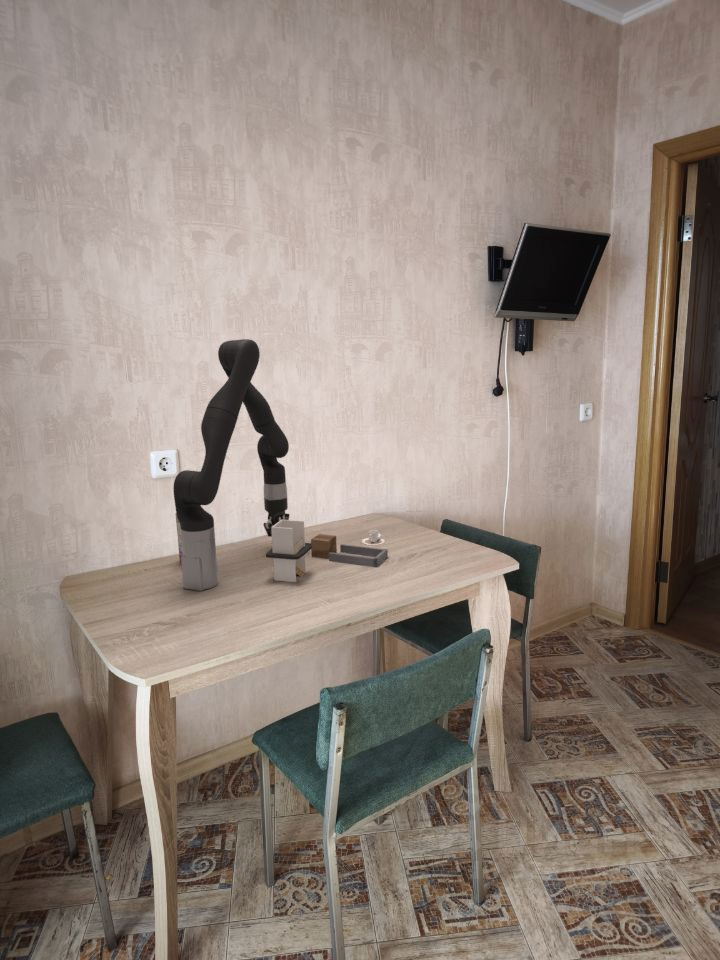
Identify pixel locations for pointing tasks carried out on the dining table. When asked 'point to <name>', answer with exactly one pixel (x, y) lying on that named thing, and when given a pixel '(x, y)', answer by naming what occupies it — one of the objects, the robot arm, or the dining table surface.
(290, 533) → the white collared box
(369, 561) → the tray
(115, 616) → the dining table surface
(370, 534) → the teacup and saucer
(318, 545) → the walnut block
